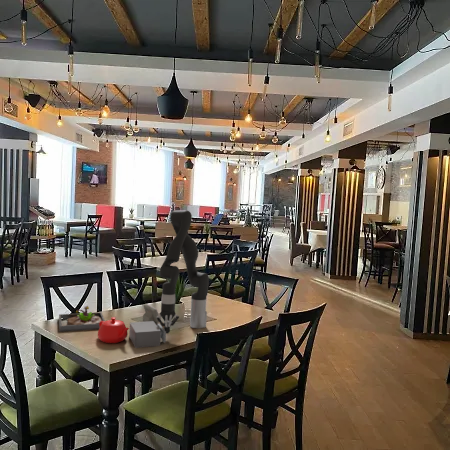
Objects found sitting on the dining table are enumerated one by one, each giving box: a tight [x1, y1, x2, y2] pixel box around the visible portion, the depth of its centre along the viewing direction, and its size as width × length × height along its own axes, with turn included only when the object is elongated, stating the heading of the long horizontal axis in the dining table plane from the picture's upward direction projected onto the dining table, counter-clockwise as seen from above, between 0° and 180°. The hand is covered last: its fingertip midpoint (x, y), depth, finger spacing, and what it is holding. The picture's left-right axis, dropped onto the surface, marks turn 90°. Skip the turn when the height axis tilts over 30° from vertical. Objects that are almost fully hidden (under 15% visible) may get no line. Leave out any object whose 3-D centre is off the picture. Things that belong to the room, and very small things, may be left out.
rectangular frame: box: [58, 311, 106, 332], centre depth 249 cm, size 25×25×3 cm
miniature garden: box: [66, 305, 102, 325], centre depth 251 cm, size 20×20×11 cm
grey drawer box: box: [157, 324, 167, 343], centre depth 226 cm, size 13×15×6 cm
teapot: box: [97, 316, 130, 344], centre depth 223 cm, size 25×16×12 cm, turn 51°
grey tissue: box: [142, 303, 160, 325], centre depth 259 cm, size 16×9×11 cm, turn 23°
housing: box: [128, 321, 161, 349], centre depth 225 cm, size 13×18×8 cm
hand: (166, 333), depth 229 cm, fingers closed
